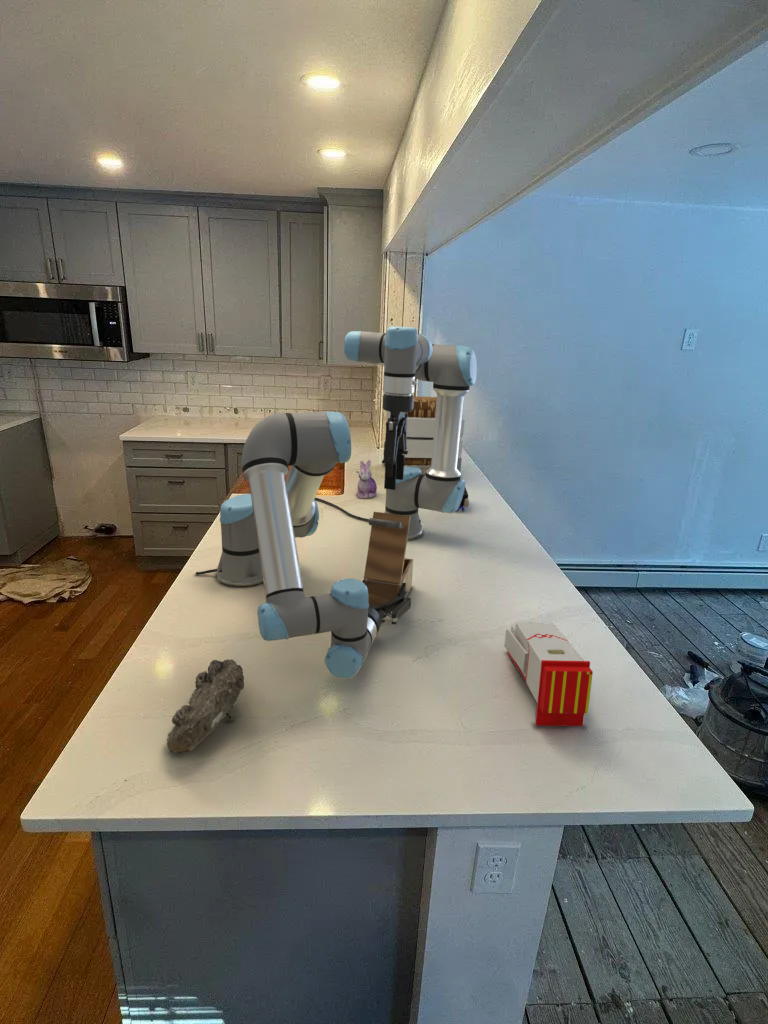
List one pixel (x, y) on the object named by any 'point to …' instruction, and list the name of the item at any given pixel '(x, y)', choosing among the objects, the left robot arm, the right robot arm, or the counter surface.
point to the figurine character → (464, 500)
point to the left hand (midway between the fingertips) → (385, 584)
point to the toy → (551, 672)
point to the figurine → (366, 481)
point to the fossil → (206, 705)
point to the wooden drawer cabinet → (423, 433)
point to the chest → (389, 586)
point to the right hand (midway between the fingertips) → (394, 483)
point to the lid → (387, 547)
